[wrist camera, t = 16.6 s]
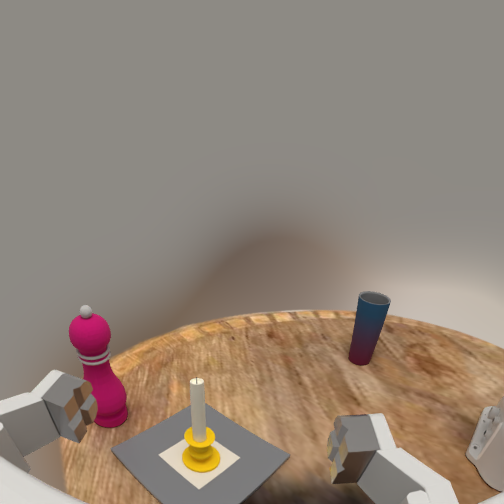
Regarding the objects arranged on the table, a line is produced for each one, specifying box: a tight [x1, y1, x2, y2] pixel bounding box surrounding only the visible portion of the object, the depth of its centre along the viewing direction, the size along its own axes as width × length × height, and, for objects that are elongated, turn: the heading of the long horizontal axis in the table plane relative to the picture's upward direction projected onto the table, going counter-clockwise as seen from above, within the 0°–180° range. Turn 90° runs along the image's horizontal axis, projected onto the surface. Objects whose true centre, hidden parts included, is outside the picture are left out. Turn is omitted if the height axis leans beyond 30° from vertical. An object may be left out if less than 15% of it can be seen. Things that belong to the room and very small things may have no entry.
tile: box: [111, 403, 290, 504], centre depth 34 cm, size 18×18×1 cm
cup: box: [349, 291, 391, 365], centre depth 60 cm, size 7×7×15 cm
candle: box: [182, 377, 220, 473], centre depth 32 cm, size 5×5×16 cm
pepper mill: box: [69, 305, 128, 428], centre depth 37 cm, size 7×7×20 cm
